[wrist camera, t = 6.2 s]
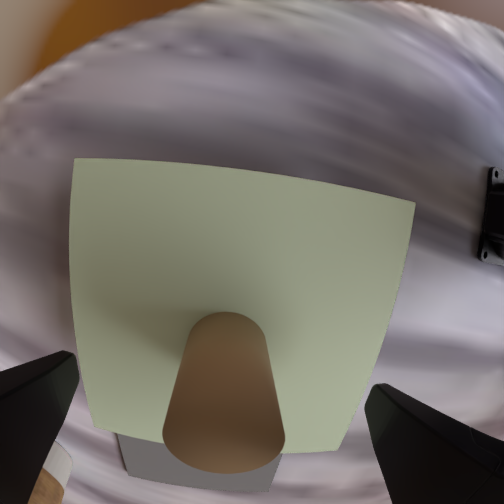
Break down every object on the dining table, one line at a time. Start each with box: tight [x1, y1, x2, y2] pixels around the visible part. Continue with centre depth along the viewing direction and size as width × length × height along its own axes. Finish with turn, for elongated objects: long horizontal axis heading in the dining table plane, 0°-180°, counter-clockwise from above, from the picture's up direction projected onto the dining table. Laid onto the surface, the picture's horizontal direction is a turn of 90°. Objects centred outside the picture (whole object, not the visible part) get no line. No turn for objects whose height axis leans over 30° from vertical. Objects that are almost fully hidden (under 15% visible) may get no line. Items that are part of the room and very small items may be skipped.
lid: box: [69, 158, 416, 474], centre depth 8 cm, size 12×12×6 cm
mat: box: [117, 433, 283, 492], centre depth 17 cm, size 12×12×1 cm
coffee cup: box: [28, 441, 73, 504], centre depth 10 cm, size 8×8×15 cm
